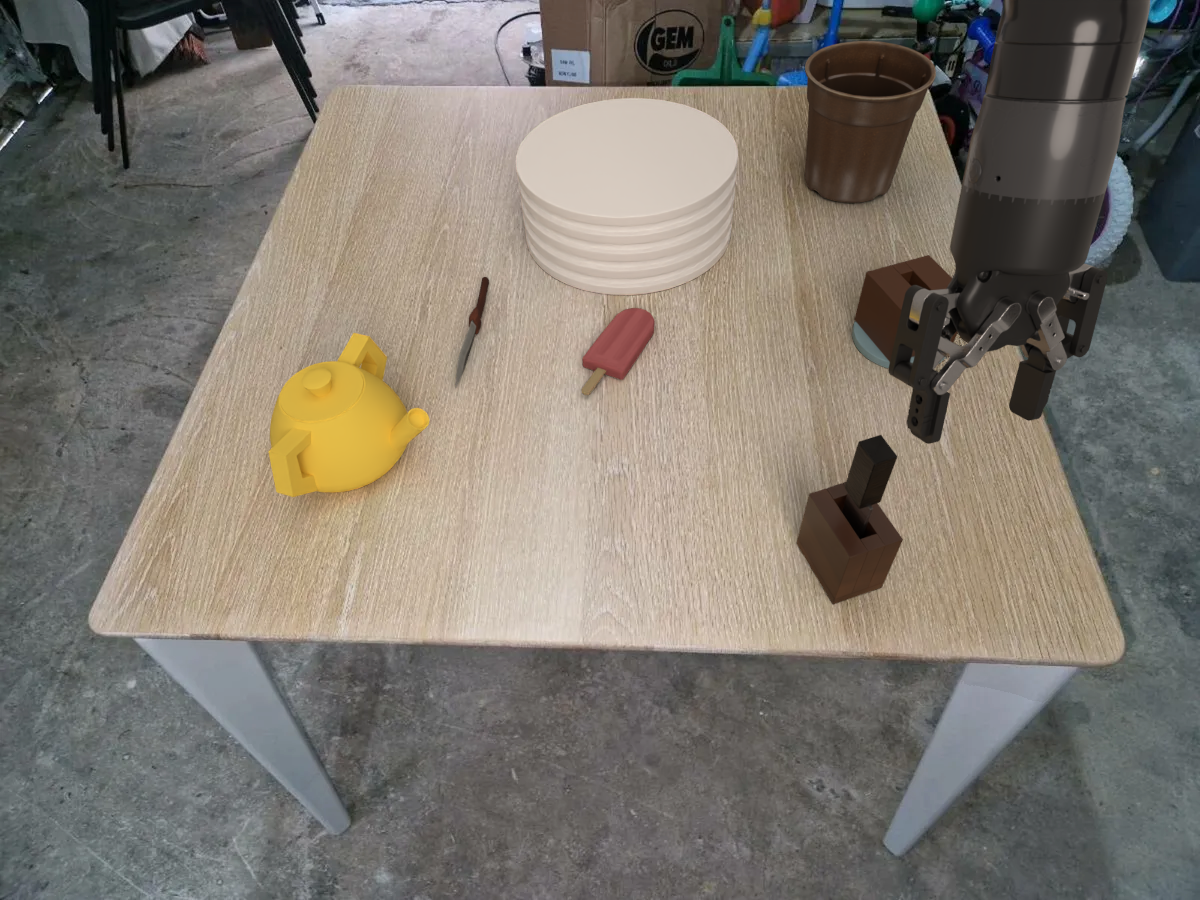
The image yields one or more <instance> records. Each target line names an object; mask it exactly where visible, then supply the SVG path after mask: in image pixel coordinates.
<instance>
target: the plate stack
mask: <svg viewBox="0 0 1200 900" xmlns="http://www.w3.org/2000/svg"><path fill="white" fill-rule="evenodd" d="M515 155H516V156H515V171H516V176H517V185H518V191H519V196H520V205H521V211H522V218H523V219H522V220H523V226H524V230H525V231H524V232H525V239H526V245H527V250H528V252H529V254H530V256H531V257H532V259H533V260H534V262H535V263H536V264H537V265H538V266H539V267H540V269H541V270H543V271H544V272H545V273H546V274H547V275H549V276H550V277H552V278H554V279H555V280H557V281H558V282H561V283H563V284H565V285H567V286H570V287H573V288H575V289H579V290H582V291H585V292H591V293H595V294H600V295H601V294H603V295H612V296H613V295H614V296H635V295H647V294H652V293H657V292H662V291H667V290H670V289H673V288H677V287H679V286H682V285H683V284H687V283H689V282H691V281H693V280H695V279H697V278H699V277H701V276H702V275H704V274H705V273H706V272H707V271H710V269H712V267H714V266H715V265H716V264H717V263H718V262H719V261H720V259H721V258H722V257H723V256H724V254H725V253H726V252H727V251H726V250H727V249H728V246H729V244H730V241H731V236H732V225H733V215H734V203H735V194H736V190H735V188H736V181H737V170H738V162H739V150H738V144H737V142H736V140H735V138H734V136H733V134H732V133H731V132H730V130H729V129H728V128H727V127H726V126H725V125H724V124H723V123H722V122H721V121H719V120H718V119H717V118H715V117H713V116H712V115H710V114H708V113H707V112H704V111H702V110H700V109H698V108H695V107H692V106H689V105H687V104H682V103H678V102H676V101H675V102H674V101H671V100H670V101H669V100H666V99H665V100H664V99H656V98H645V97H643V98H641V97H626V98H624V97H623V98H612V99H603V100H597V101H592V102H588V103H584V104H580V105H577V106H573V107H570V108H568V109H565V110H562V111H560V112H557V113H556V114H554V115H552V116H550V117H548V118H546V119H544V120H543V121H542V122H540V123H539V124H537V125H535V126H534V128H532V129H531V130H530V131H529V132H528V133H527V135H526V136H525V137H524V138H523V139H522V141H521V143H520V144H519V146H518V148H517V151H516V154H515Z"/></svg>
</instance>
